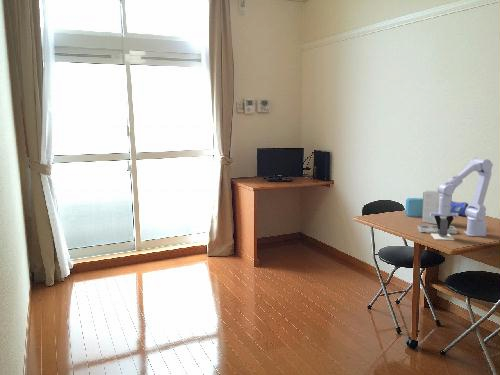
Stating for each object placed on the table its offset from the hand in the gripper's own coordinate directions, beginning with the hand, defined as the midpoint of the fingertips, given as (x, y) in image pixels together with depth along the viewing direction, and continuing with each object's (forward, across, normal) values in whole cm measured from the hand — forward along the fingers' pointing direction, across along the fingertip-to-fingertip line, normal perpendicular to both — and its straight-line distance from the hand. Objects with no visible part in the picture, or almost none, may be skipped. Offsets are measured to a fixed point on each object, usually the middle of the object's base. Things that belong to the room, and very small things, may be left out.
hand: (442, 228), depth 233 cm
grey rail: (+5, 0, -12) cm, 13 cm away
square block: (+3, 0, 0) cm, 3 cm away
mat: (+5, 0, 0) cm, 5 cm away
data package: (+5, +5, -48) cm, 49 cm away
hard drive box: (+5, -4, -31) cm, 32 cm away
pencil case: (+5, -21, -57) cm, 61 cm away
